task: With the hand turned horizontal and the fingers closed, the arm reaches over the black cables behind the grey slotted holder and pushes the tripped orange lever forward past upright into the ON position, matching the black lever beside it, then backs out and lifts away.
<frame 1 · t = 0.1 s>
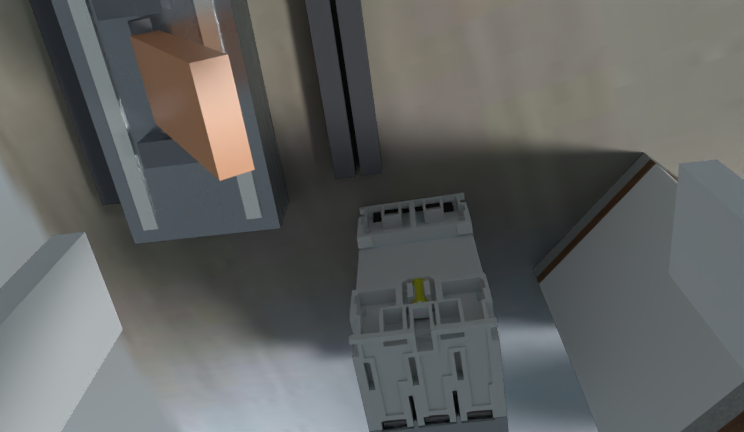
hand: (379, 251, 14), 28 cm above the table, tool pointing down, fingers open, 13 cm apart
white banded pillar: (638, 249, 46), on the table
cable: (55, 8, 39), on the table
lever: (182, 93, 31), point 10 cm above the table, hinge at -32.0°
circuit breaker: (423, 282, 47), on the table
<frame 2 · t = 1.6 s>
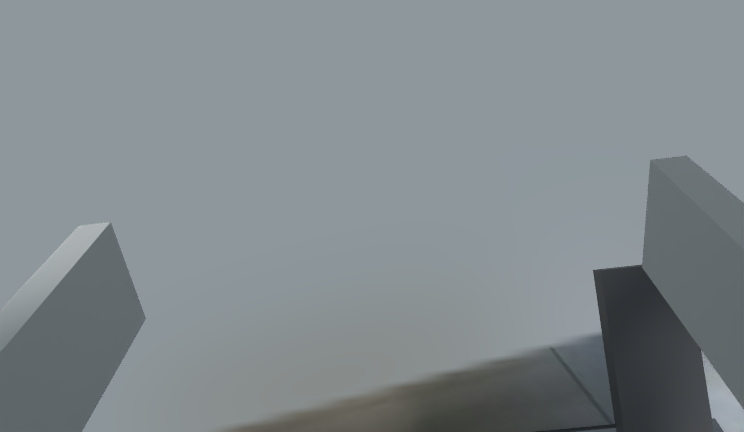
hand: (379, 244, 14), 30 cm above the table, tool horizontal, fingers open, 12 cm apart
lever on: (655, 375, 37), point 10 cm above the table, hinge at 32.0°
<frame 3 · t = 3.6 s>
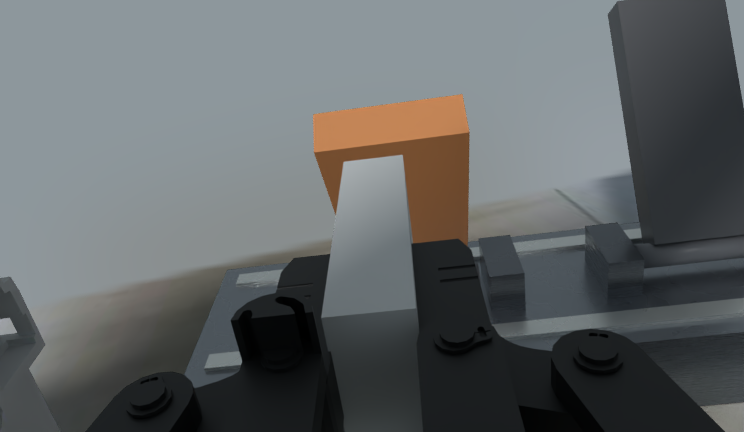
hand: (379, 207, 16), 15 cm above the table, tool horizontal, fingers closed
grey slotted holder: (499, 351, 33), on the table
lever on: (684, 128, 30), point 10 cm above the table, hinge at 32.0°
lever: (405, 222, 26), point 10 cm above the table, hinge at -32.0°
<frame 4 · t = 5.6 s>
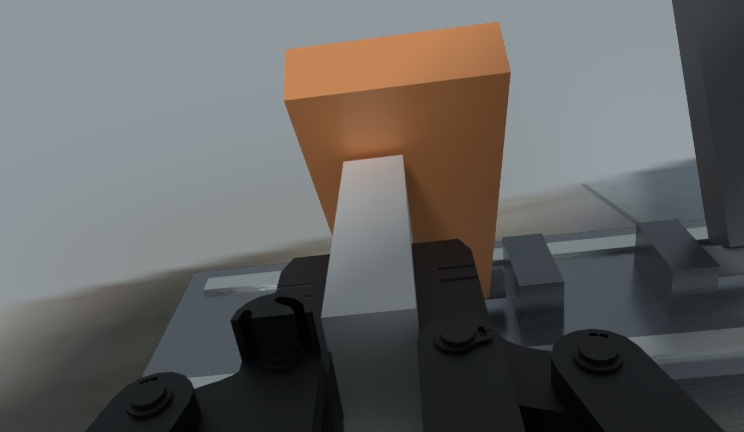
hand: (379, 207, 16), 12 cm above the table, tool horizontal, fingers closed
grey slotted holder: (526, 378, 26), on the table
lever: (412, 212, 19), point 10 cm above the table, hinge at -31.4°, touching gripper
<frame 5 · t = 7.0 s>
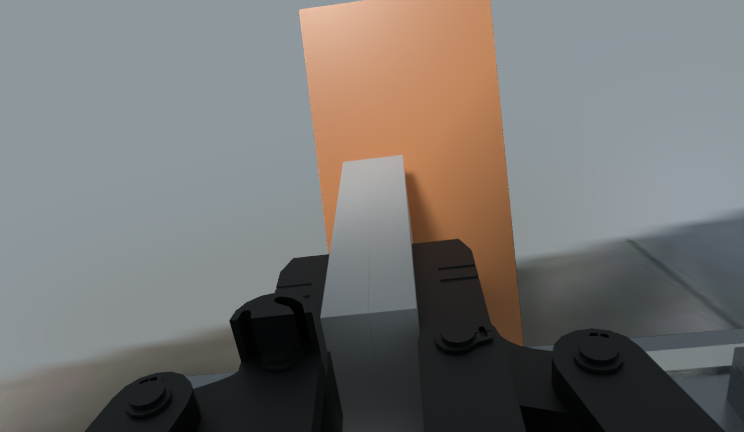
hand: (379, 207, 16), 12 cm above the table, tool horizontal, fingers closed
lever: (419, 239, 17), point 11 cm above the table, hinge at 22.2°, touching gripper
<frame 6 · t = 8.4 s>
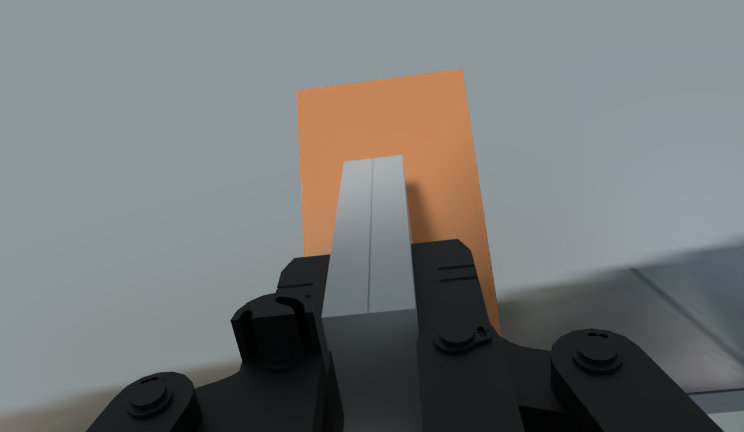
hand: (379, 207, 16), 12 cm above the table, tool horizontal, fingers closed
lever: (401, 301, 17), point 9 cm above the table, hinge at 45.7°, touching gripper
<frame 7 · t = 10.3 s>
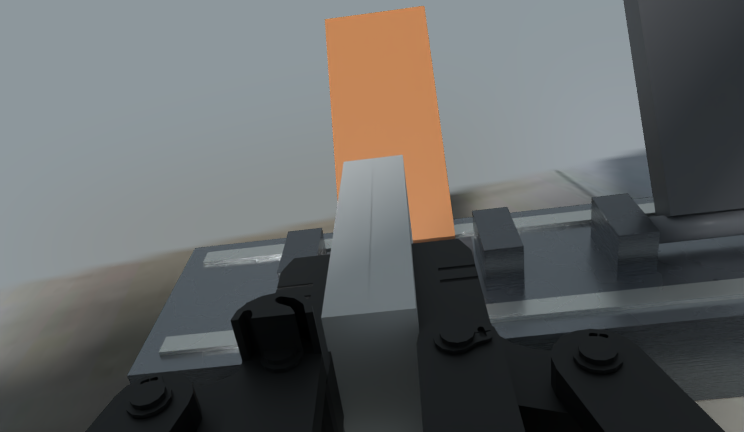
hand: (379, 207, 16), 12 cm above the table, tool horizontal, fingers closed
grey slotted holder: (495, 338, 29), on the table
lever on: (703, 87, 27), point 10 cm above the table, hinge at 32.0°
lever: (387, 137, 29), point 9 cm above the table, hinge at 46.0°
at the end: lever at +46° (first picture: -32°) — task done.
